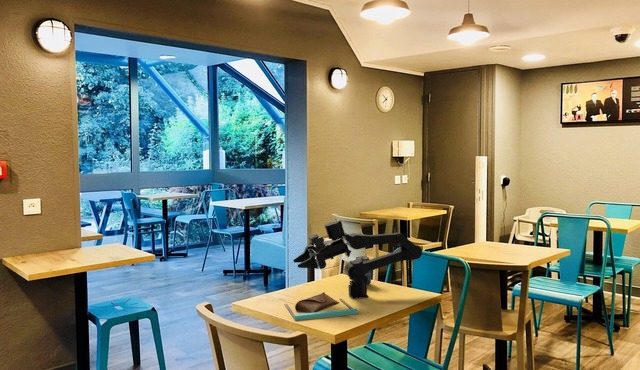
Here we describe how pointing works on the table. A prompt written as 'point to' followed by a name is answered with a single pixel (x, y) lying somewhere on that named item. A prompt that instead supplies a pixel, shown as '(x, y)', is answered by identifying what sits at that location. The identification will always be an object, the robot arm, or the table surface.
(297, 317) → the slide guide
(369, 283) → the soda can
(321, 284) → the table surface
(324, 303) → the sunglasses case
